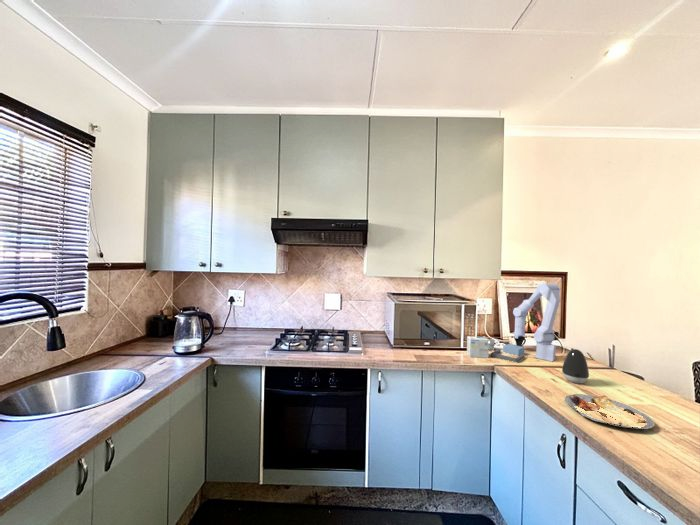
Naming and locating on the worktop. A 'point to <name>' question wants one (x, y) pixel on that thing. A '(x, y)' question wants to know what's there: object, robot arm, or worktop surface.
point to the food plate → (605, 407)
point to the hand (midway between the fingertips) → (519, 347)
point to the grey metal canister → (491, 344)
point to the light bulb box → (477, 347)
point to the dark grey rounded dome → (575, 367)
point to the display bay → (496, 355)
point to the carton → (513, 349)
